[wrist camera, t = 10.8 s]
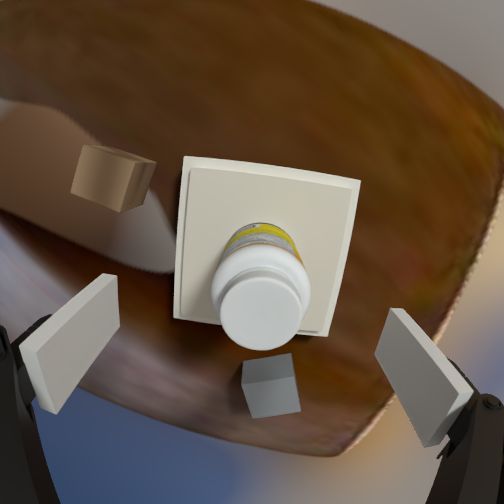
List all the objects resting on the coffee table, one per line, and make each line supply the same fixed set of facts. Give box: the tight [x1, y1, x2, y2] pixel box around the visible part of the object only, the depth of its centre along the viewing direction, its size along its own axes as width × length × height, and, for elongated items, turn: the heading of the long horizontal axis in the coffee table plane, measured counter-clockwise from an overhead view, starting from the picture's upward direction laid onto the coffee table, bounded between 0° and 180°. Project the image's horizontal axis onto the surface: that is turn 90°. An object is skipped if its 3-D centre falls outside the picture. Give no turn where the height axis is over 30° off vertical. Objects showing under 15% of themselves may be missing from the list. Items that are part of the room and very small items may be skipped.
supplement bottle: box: [210, 222, 311, 350], centre depth 19 cm, size 6×6×10 cm
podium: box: [174, 156, 361, 336], centre depth 25 cm, size 14×14×3 cm
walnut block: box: [71, 145, 157, 213], centre depth 23 cm, size 5×4×5 cm
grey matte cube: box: [241, 353, 301, 418], centre depth 29 cm, size 5×5×4 cm
